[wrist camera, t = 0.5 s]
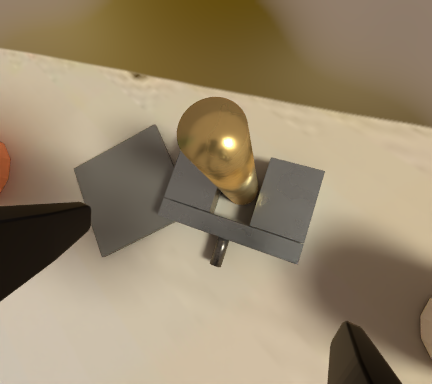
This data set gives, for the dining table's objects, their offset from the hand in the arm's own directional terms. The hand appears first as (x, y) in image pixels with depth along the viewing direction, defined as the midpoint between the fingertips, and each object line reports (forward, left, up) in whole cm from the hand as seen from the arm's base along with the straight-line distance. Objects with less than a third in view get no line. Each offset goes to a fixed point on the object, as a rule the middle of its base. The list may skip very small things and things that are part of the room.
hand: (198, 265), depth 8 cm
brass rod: (+2, +5, -14) cm, 15 cm away
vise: (+1, +3, -14) cm, 15 cm away
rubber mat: (-8, +10, -14) cm, 19 cm away
